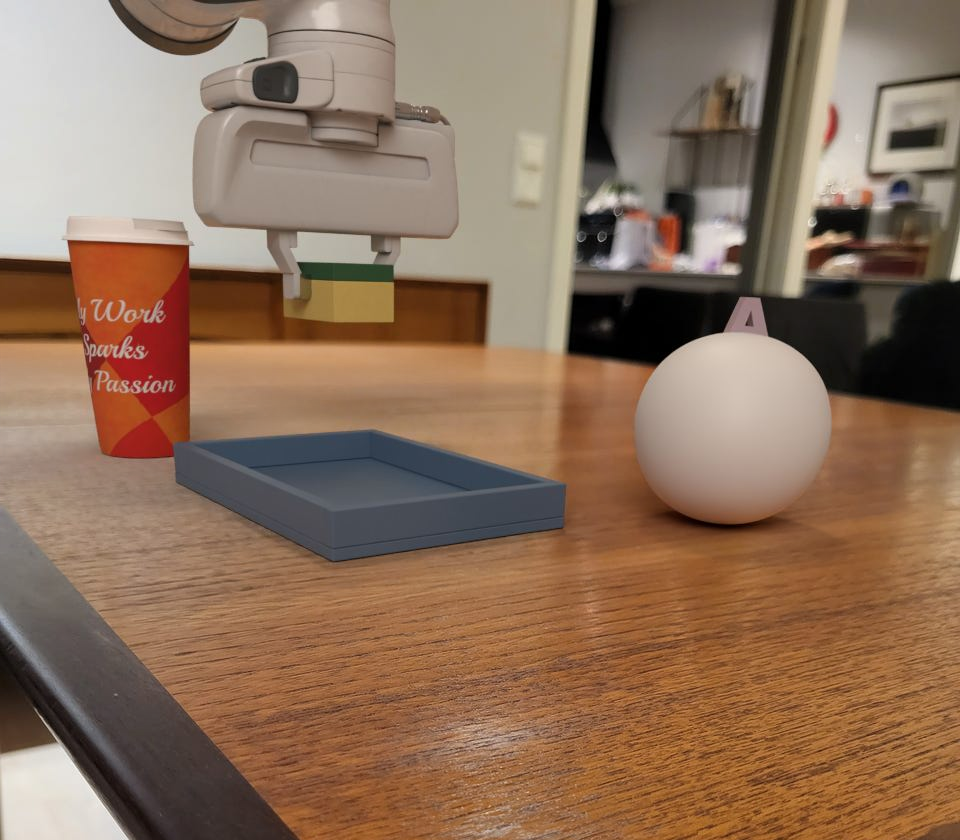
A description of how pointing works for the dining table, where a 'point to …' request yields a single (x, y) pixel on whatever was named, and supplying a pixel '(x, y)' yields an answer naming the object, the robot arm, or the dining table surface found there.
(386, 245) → the robot arm
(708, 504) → the ornament
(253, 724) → the dining table surface
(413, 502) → the tray
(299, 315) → the sponge
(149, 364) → the coffee cup
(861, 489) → the dining table surface
